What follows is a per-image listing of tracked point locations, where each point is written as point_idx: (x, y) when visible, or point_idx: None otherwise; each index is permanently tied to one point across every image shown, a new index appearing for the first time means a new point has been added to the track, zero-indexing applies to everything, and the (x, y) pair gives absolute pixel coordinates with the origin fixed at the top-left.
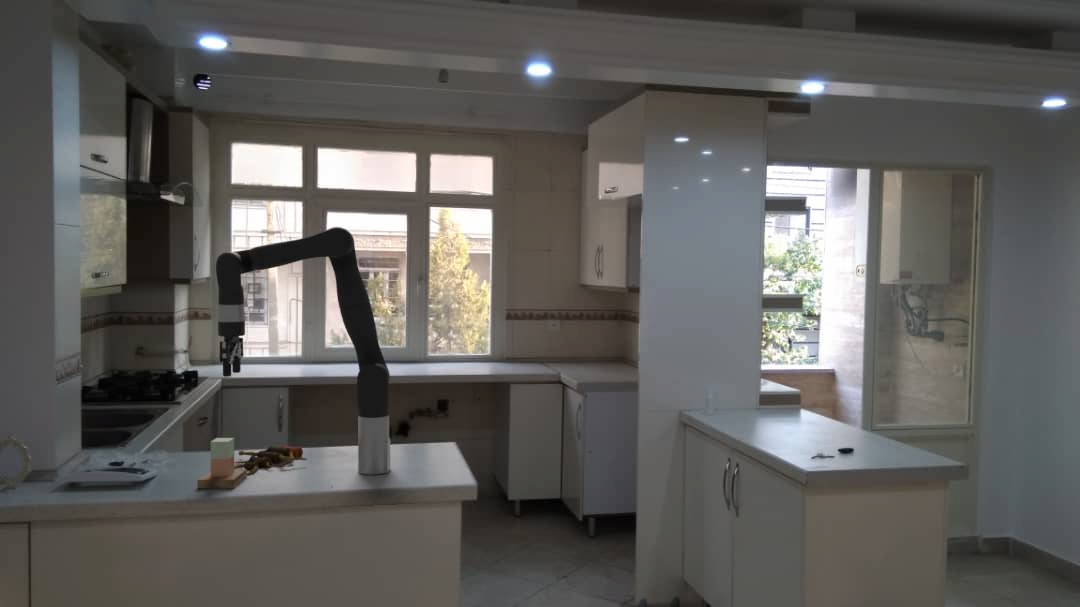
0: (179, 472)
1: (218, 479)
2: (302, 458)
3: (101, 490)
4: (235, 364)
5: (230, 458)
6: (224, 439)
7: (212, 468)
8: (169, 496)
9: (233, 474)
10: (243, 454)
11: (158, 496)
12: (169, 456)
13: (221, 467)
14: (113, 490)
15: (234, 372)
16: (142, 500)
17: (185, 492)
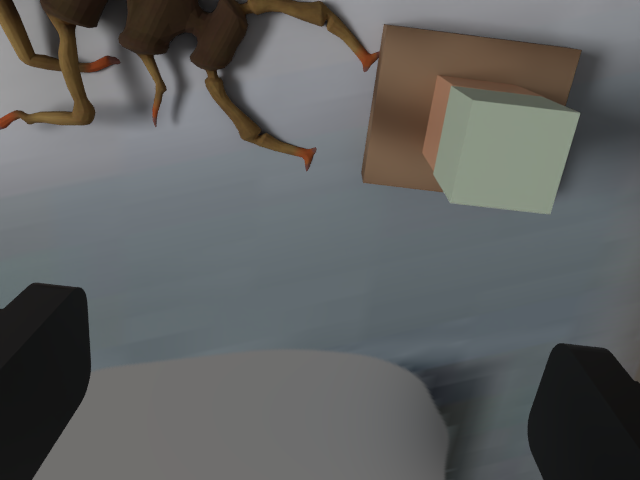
0: (261, 305)
1: None
2: None
3: (465, 459)
4: (9, 451)
5: (513, 92)
6: (507, 149)
7: None
8: (606, 262)
9: (480, 70)
10: (87, 99)
11: (593, 295)
12: None
13: None
14: (474, 431)
15: (88, 360)
16: (629, 329)
17: (566, 222)
